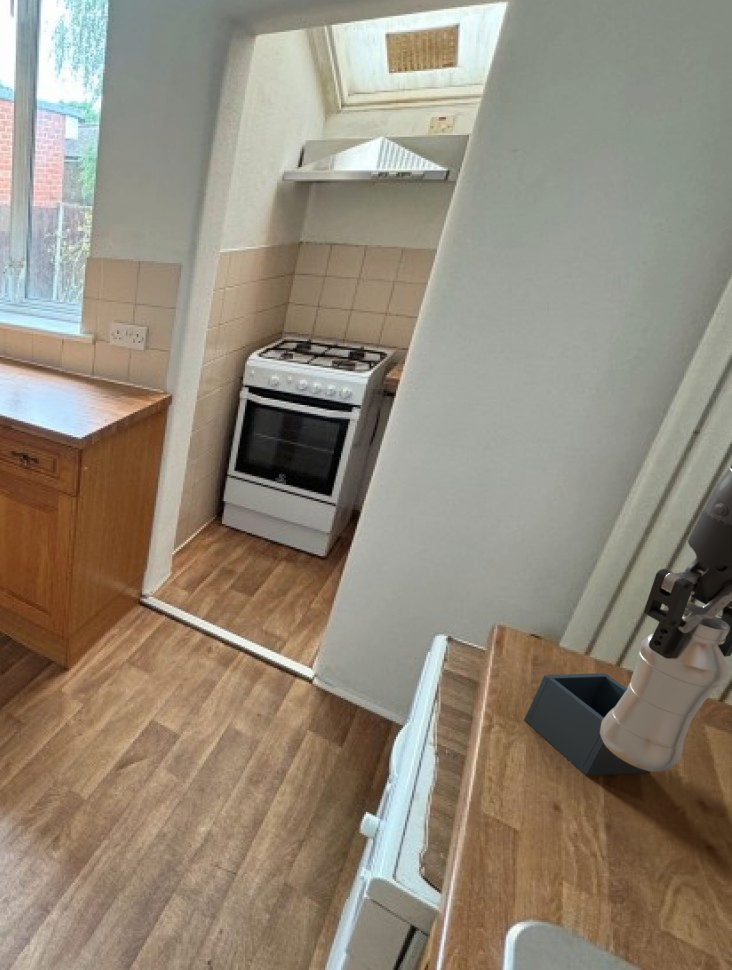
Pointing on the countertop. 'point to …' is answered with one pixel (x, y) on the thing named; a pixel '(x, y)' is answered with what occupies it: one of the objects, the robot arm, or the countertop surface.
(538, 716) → the bin
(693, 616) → the robot arm
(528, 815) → the countertop surface
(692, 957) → the countertop surface
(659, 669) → the plastic bottle
